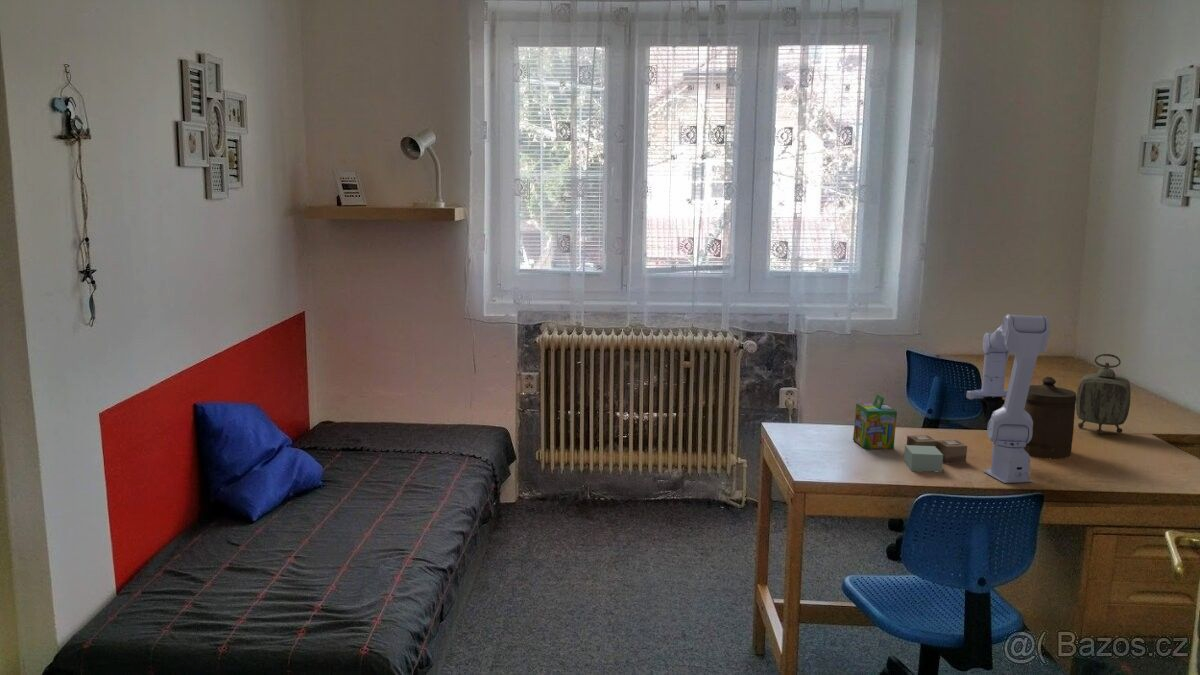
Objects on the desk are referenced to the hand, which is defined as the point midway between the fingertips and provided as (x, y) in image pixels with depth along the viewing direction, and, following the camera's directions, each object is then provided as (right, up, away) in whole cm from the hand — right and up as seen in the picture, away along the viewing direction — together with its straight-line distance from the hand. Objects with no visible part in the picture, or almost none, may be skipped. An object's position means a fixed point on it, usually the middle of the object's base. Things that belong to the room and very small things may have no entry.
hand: (989, 422), depth 251 cm
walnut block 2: (-12, -10, -3) cm, 17 cm away
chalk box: (-30, -8, +10) cm, 32 cm away
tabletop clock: (+46, -6, +26) cm, 53 cm away
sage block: (-23, -11, -10) cm, 27 cm away
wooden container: (+18, -9, +5) cm, 20 cm away
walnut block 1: (-19, -9, +1) cm, 21 cm away
